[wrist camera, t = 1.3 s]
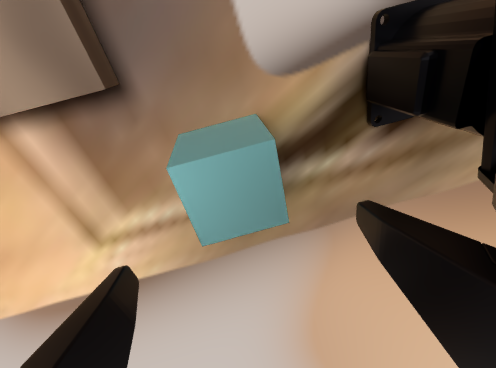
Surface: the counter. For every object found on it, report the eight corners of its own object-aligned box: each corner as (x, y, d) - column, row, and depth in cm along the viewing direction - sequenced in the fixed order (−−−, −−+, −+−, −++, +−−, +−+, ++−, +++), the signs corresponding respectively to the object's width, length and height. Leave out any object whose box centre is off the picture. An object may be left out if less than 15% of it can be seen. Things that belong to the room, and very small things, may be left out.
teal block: (255, 113, 15) (274, 139, 10) (269, 179, 17) (289, 222, 13) (178, 134, 15) (166, 168, 10) (203, 197, 17) (202, 246, 13)
